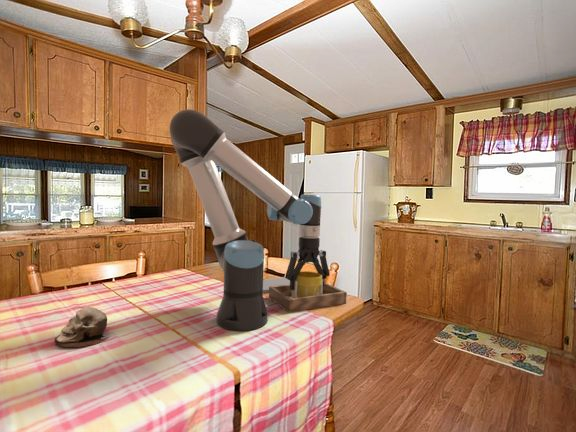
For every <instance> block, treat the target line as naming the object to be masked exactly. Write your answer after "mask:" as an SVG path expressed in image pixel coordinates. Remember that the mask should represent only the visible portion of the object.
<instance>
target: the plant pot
mask: <svg viewBox="0 0 576 432" xmlns="http://www.w3.org/2000/svg"><path fill="white" fill-rule="evenodd" d="M295 281H297V298H300V297H307V296H315V295H318V294H317V293H318V290H319V286H320V285H321V283H322V275H321V274H320V273H318V272H317V271H309V270H303V271H302V270H301V271H300V273H299V275H298V277H297V278H296V280H295Z"/></svg>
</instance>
